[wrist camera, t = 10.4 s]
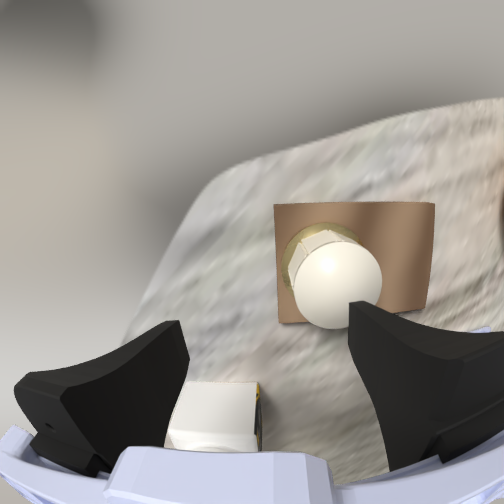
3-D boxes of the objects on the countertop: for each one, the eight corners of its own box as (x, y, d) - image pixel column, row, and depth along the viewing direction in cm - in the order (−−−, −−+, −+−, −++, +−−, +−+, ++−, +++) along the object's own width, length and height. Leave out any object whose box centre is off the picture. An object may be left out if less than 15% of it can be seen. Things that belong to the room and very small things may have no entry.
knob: (366, 220, 19) (383, 228, 16) (362, 302, 20) (376, 320, 17) (279, 224, 19) (281, 232, 16) (282, 308, 21) (284, 329, 18)
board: (427, 202, 19) (434, 203, 18) (418, 302, 21) (424, 308, 20) (273, 204, 20) (273, 205, 19) (278, 316, 22) (278, 323, 21)
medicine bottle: (262, 425, 26) (258, 518, 14) (198, 424, 26) (175, 510, 15) (258, 380, 24) (252, 488, 12) (185, 379, 25) (148, 476, 13)
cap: (341, 311, 20) (356, 338, 16) (277, 287, 20) (279, 313, 16) (372, 247, 19) (396, 262, 15) (306, 218, 19) (317, 228, 15)
